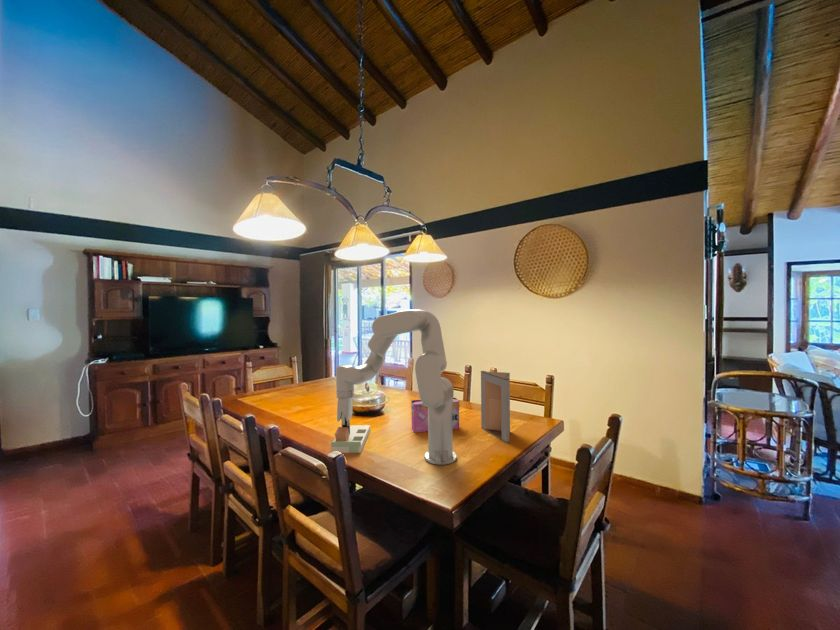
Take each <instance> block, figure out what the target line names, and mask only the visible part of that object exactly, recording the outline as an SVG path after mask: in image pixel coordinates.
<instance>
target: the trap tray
mask: <svg viewBox="0 0 840 630" xmlns="http://www.w3.org/2000/svg"><path fill="white" fill-rule="evenodd" d="M370 432H371V425H370V424H369V425H367V424H365V425H363V424H362V425H361V424H360V425H357V424H356V425H355V424H354V425H350V434H349V438H348V441H336V438H335V437H334V439H333V440H332V441H331V443H330V445H331V446H330V447H331V450H330V451H331V453H332V451H339V452H341V453H340V454H354V453H355V454H357V453H358V454H360V453H362V451H363V448H364V446H365V443H366V441H367V439H368V436H369V435H370Z"/></svg>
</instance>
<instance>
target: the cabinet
mask: <svg viewBox="0 0 840 630" xmlns="http://www.w3.org/2000/svg"><path fill="white" fill-rule="evenodd" d="M510 374H511V373H510V372H501V371H500V372H499V371H487V370H481V371H480V409H481V410H480V411H481V413H480V414H481V415H480V417H481V418H480V419H481V423H480V425H481V429H483V430H484V431H486V432H488V433H489V434H491V435H492V436H494V437H495V438H497V439H499V440H500V441H502V442H504V443H505V444H509V443H510V433H511V387H510V385H511V384H510V383H511V382H510V376H511V375H510Z"/></svg>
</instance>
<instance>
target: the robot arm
mask: <svg viewBox="0 0 840 630" xmlns="http://www.w3.org/2000/svg"><path fill="white" fill-rule="evenodd" d="M440 324H441V323H440V322H439V320H438V318H437V316H436V315H434V314H433V313H432V312H430V311H427V310H424V309H403V310H400V311H396V312H392V313H388V314H384V315H380V316H377V317H376V318H375V319H374V321H373V322H372V325H371V329H372V333H373V335H372V336H371V337H370V339H369V341H368V343H367V347H368V349H369V350H370V354H369V356H368V357H367V359H366V360H365V362H364V363H362V364H359V365H357V366H353V365H352V364H339V365H337V367H336V369H335V372H336V373H335V375H336V380H335V381H336V388H335V389H336V398H337V407H336V412H337V413H336V421H337V422H341V427H348V429H349V434H350V426H351V423H350V422H351V417H352V416H353V398H354V397H355V386H356V385H361V384H364V383H366V382H369V381H370V380H373V378H375V376H376V375H377V374H378V372H379V371H380V369H381V367H382V366H383V364H384V361H385V358H386V353H387V352H388V350H389V348H390V347H391V346H392V343H393V342H394V341H395V339H396V338H397V336H398V335H402V334H406V333H412V332H417V331H419V332H420V333H421V335H420V342H421V343H420V344H421V349H422V350H421V351H422V354H420V355H419V356H418V358H417V359H416V362H415V365H414V369H415V370H414V371H415V377H416V385H417V389H418V396H419V400H421V402H422V403H423V404H424V405H425V406H426V407H428V431H427V433H428V434H427V435H428V436H427V438H428V439H427V441H428V442H427V443H428V445H427V446H428V447H427V448H428V451H426V452H425V453H424V460H425V461H426V462H427V463H430V464H433V465H438V466H442V465H443V466H445V465H450V464H453V463H454V462H456V461H457V459H458V456H457V455H458V454H456V452H455V451H453V446H454V444H453V442H454V441H453V439H454V438H453V429H452V406H453V398H454V395H455V394H454V393H455V392H454V386H453V384H452V382H451V381H450V380H449V379H448V378H447V377H442V375H441V374H442V373H443V372H445V370H446V369H447V363H448V362H447V357H446V352H445V351H446V350H445V347H444V346H445V345H444V341H443V335H442V334H443V333H442V327H441V325H440ZM340 420H341V421H340Z"/></svg>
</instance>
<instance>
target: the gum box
mask: <svg viewBox="0 0 840 630" xmlns="http://www.w3.org/2000/svg"><path fill="white" fill-rule="evenodd" d="M410 402H411V405H410V406H411V410H410V411H411V429H412V431H413V433H423V432H424V433H425V432H428V407H426V406H425V405H424V404H423V403H422V402H421V399H414V400H413V399H412V400H411V401H410ZM460 406H461V405H460V401H459V400H458V398H457V397H453V406H452V430H460Z"/></svg>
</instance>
